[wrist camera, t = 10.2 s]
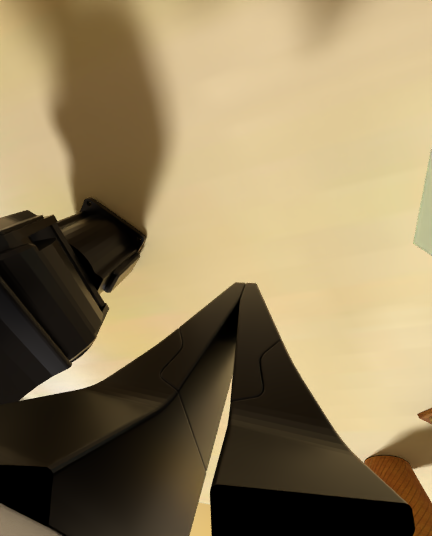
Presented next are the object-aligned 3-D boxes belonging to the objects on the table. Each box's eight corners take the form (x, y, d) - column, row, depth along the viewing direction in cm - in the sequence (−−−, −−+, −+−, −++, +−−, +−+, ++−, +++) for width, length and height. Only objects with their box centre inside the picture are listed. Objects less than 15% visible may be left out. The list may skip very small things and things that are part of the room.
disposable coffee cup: (354, 446, 34) (395, 577, 24) (428, 453, 32) (508, 603, 21) (351, 473, 38) (384, 593, 28) (415, 480, 36) (477, 615, 26)
